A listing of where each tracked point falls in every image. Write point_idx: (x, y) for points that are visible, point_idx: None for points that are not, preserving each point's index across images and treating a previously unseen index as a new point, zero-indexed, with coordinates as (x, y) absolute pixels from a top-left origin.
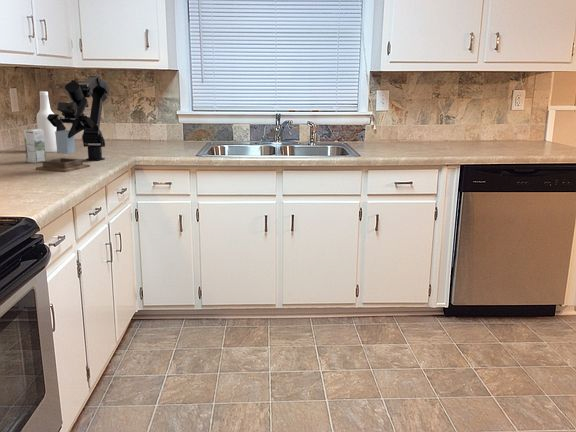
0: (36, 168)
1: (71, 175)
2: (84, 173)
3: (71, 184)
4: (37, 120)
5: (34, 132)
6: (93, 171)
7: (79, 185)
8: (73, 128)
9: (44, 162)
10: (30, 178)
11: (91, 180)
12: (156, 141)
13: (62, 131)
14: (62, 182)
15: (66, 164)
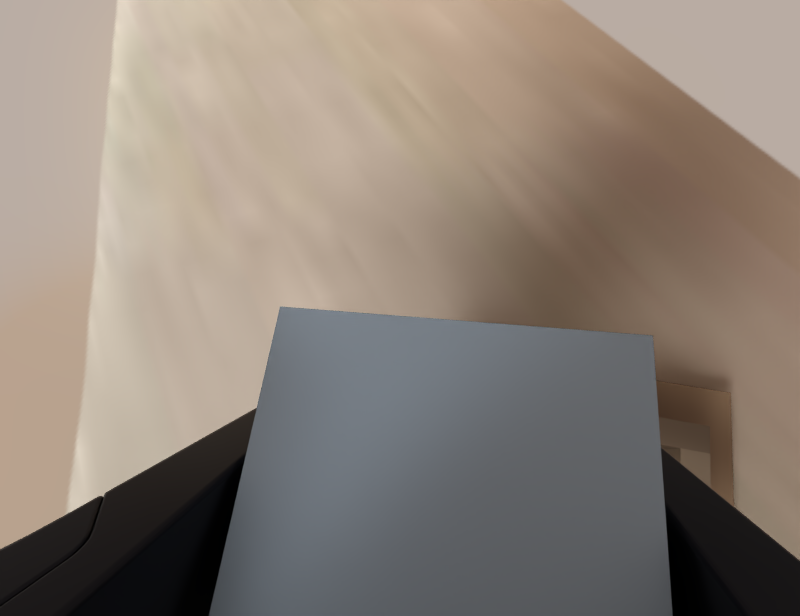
0: (713, 391)
1: (290, 235)
2: (235, 324)
3: (189, 41)
4: None
5: None
6: (199, 422)
7: (146, 36)
8: (35, 531)
9: (676, 421)
10: (479, 91)
11: (123, 142)
12: None
13: (424, 381)
14: (250, 62)
15: None
